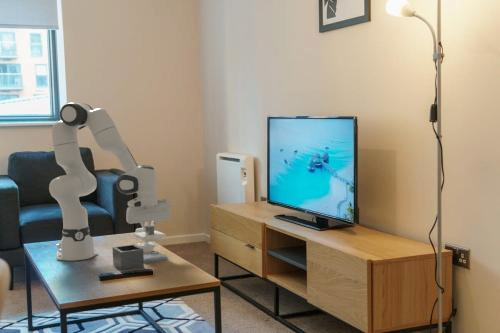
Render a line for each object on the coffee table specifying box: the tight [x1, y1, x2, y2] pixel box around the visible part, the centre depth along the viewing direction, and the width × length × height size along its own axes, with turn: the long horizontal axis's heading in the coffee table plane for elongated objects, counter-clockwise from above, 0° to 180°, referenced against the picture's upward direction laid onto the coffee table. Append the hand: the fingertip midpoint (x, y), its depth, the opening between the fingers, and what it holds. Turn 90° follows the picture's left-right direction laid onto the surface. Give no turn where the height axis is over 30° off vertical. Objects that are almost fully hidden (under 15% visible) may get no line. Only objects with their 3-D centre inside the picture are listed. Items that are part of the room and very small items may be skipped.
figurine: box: [135, 221, 156, 253], centre depth 317 cm, size 7×9×15 cm
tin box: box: [112, 243, 145, 272], centre depth 290 cm, size 12×10×8 cm
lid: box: [134, 224, 167, 242], centre depth 303 cm, size 13×11×6 cm
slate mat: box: [143, 251, 169, 264], centre depth 304 cm, size 14×12×1 cm
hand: (149, 231), depth 303 cm, fingers closed on lid, 2 cm apart
